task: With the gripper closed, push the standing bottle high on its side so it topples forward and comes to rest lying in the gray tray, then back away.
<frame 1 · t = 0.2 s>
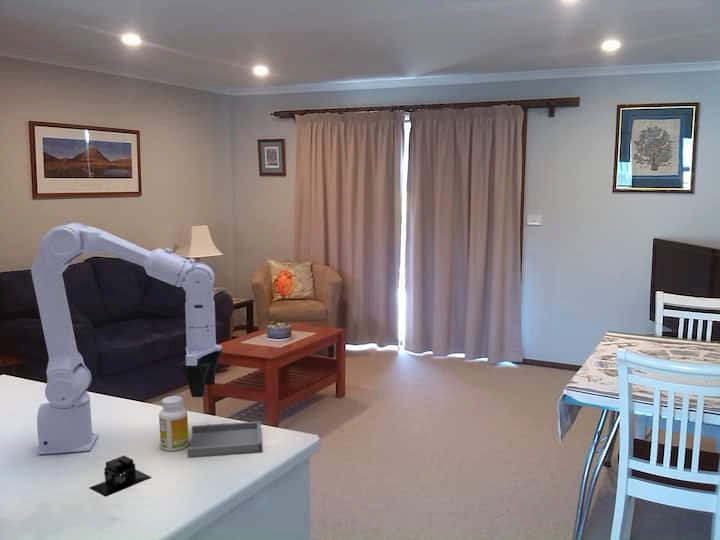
hand: (202, 390, 133), 10 cm above the kitchen counter, tool pointing down, fingers open, 7 cm apart
build plate: (121, 486, 115), on the kitchen counter
gray tray: (226, 442, 132), on the kitchen counter
supplement bottle: (174, 447, 130), on the kitchen counter
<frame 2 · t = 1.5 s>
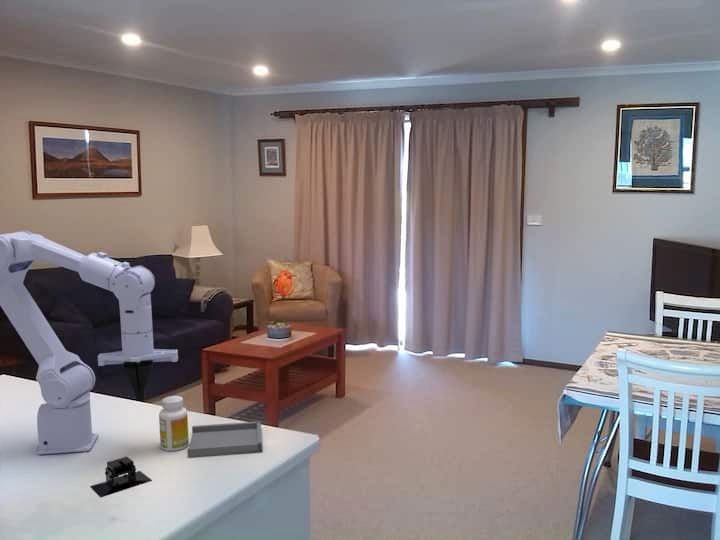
hand: (141, 398, 128), 10 cm above the kitchen counter, tool pointing down, fingers closed
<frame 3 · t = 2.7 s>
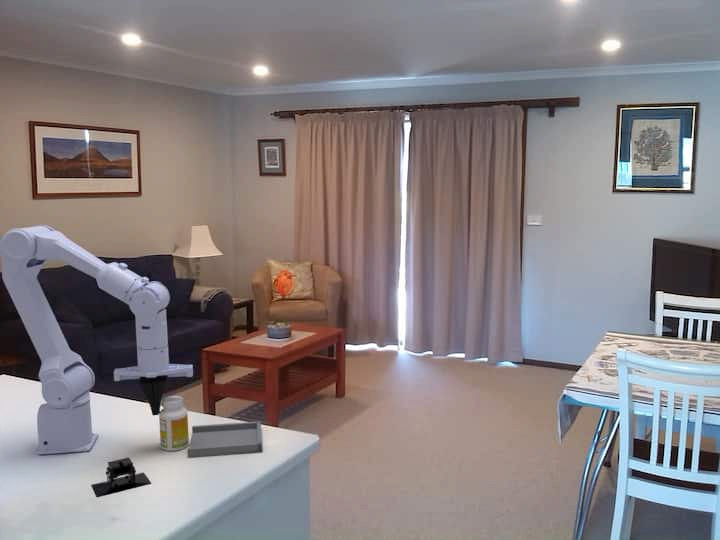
hand: (156, 413, 129), 7 cm above the kitchen counter, tool pointing down, fingers closed, pressing on supplement bottle
supplement bottle: (174, 446, 130), on the kitchen counter, touching gripper
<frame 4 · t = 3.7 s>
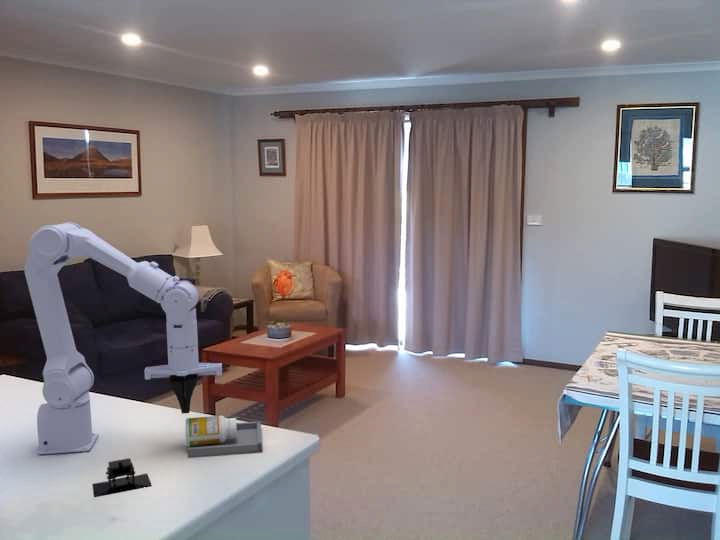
hand: (185, 411, 130), 7 cm above the kitchen counter, tool pointing down, fingers closed
supplement bottle: (185, 432, 129), point 3 cm above the kitchen counter, touching gray tray
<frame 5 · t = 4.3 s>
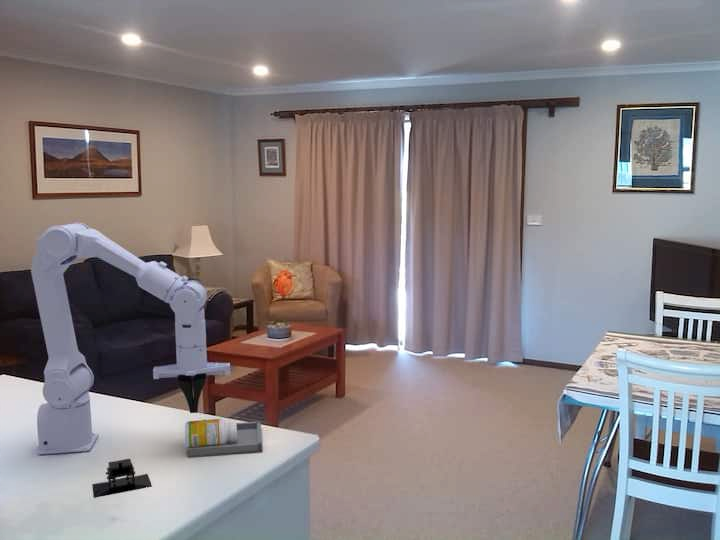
hand: (194, 411, 130), 7 cm above the kitchen counter, tool pointing down, fingers closed
supplement bottle: (184, 435, 127), point 3 cm above the kitchen counter, touching gray tray
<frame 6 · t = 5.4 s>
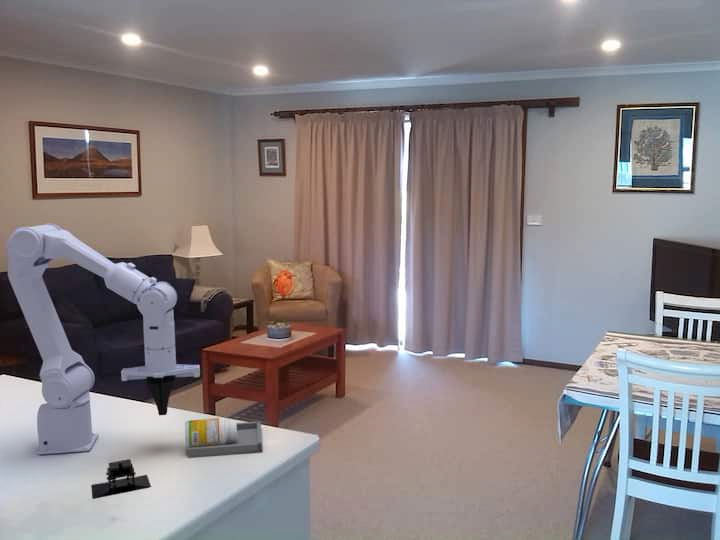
hand: (163, 413, 129), 7 cm above the kitchen counter, tool pointing down, fingers closed
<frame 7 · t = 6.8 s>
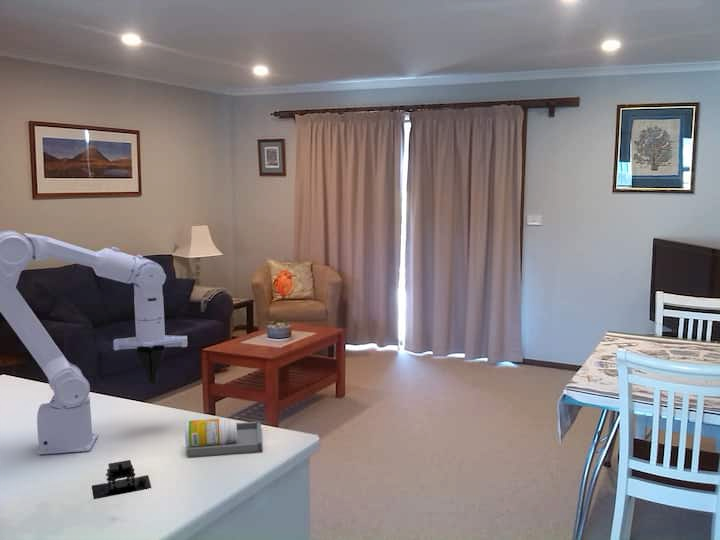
hand: (153, 381, 138), 10 cm above the kitchen counter, tool pointing down, fingers closed
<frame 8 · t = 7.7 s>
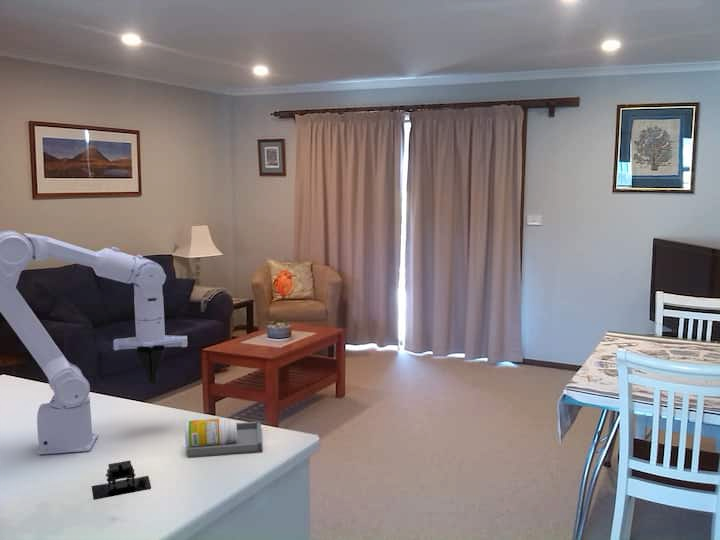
hand: (153, 381, 138), 10 cm above the kitchen counter, tool pointing down, fingers closed
at the end: supplement bottle tilted 90°; supplement bottle inside the target area (8.2 cm from its centre), point 3.1 cm above the kitchen counter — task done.
